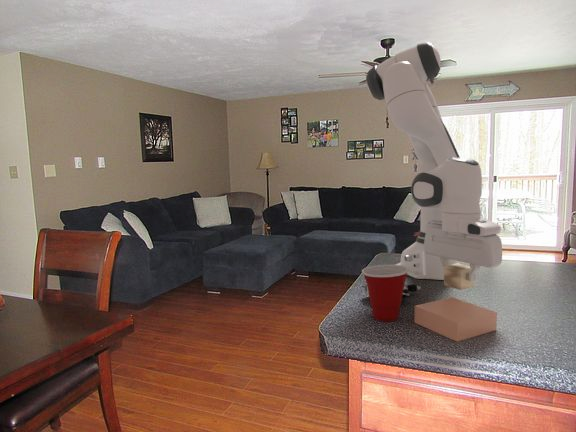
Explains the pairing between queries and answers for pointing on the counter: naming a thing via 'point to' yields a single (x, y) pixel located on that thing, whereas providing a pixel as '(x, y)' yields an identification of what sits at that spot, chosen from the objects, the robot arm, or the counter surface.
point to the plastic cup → (385, 290)
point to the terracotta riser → (455, 318)
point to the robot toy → (405, 291)
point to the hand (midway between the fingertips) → (458, 277)
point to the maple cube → (457, 276)
